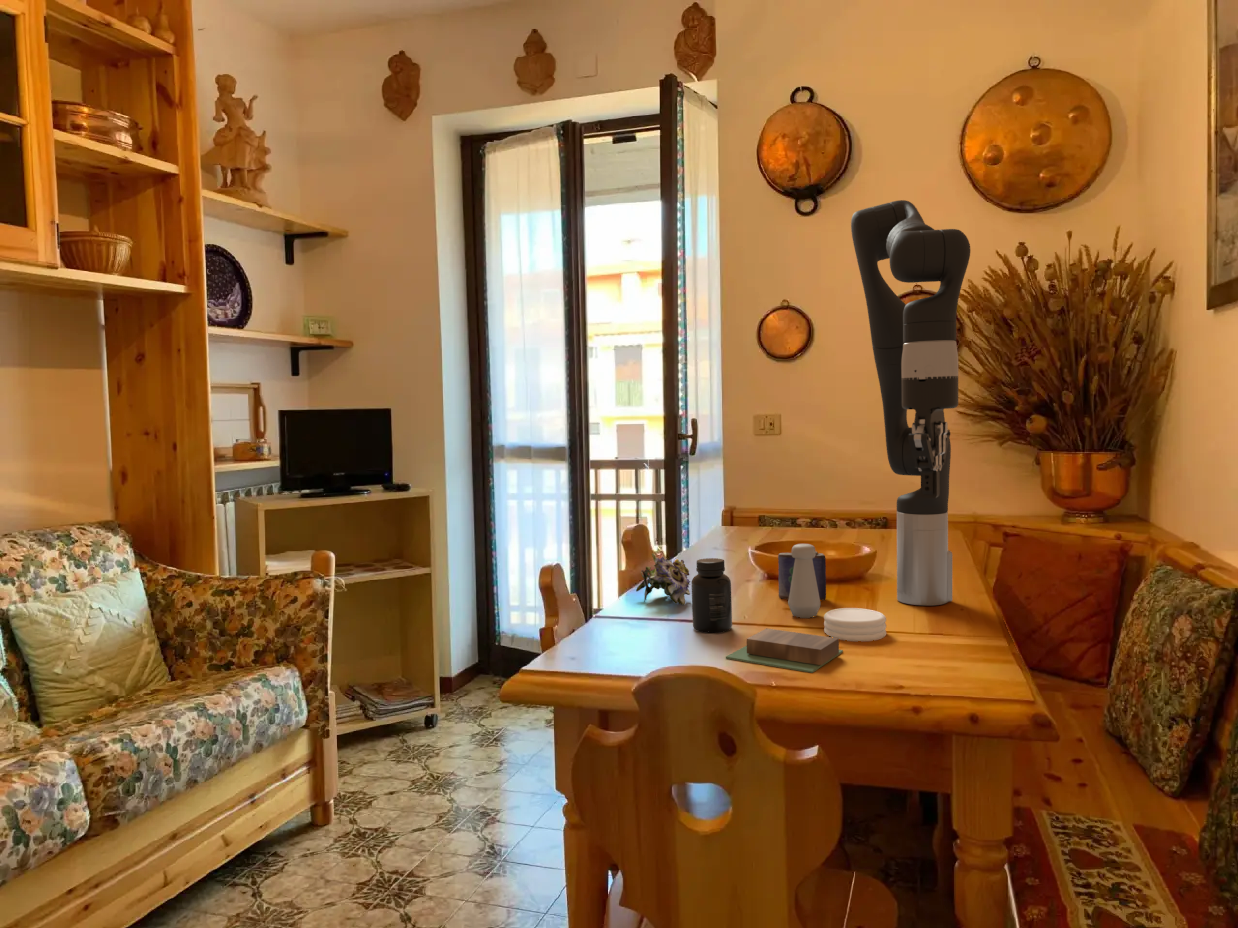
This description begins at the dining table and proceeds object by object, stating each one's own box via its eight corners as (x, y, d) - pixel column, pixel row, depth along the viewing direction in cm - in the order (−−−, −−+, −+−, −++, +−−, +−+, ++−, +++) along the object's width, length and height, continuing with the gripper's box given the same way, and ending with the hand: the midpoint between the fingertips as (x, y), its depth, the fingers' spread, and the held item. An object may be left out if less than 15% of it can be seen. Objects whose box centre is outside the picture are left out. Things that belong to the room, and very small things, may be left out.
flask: (777, 598, 171) (777, 545, 171) (780, 595, 174) (779, 542, 173) (825, 601, 168) (825, 546, 168) (827, 598, 171) (826, 544, 170)
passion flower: (681, 631, 169) (683, 590, 162) (628, 619, 172) (627, 578, 164) (695, 589, 178) (697, 548, 170) (644, 578, 180) (644, 537, 172)
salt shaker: (821, 619, 154) (820, 547, 153) (788, 619, 155) (787, 547, 154) (820, 611, 160) (819, 542, 159) (788, 611, 161) (787, 541, 160)
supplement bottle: (735, 624, 152) (734, 557, 152) (727, 634, 146) (726, 564, 145) (697, 622, 155) (696, 556, 154) (688, 632, 148) (686, 563, 147)
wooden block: (838, 638, 132) (766, 628, 139) (820, 649, 126) (746, 638, 133) (838, 654, 132) (766, 643, 139) (821, 666, 126) (746, 654, 133)
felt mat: (842, 651, 134) (842, 650, 134) (812, 672, 125) (812, 670, 125) (760, 639, 142) (760, 637, 142) (725, 658, 133) (725, 656, 133)
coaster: (849, 646, 138) (849, 624, 138) (812, 631, 147) (811, 611, 147) (899, 637, 142) (899, 616, 142) (859, 624, 151) (859, 604, 151)
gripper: (916, 376, 129) (916, 491, 131) (888, 375, 119) (888, 501, 120) (969, 374, 125) (969, 493, 126) (944, 373, 114) (945, 504, 116)
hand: (930, 497), depth 123 cm, fingers closed
